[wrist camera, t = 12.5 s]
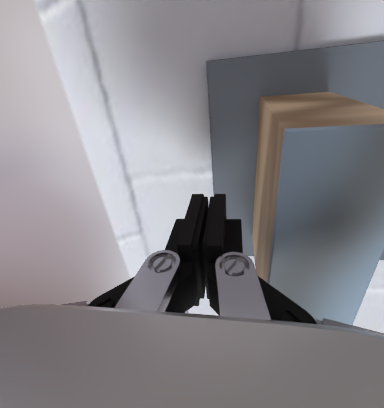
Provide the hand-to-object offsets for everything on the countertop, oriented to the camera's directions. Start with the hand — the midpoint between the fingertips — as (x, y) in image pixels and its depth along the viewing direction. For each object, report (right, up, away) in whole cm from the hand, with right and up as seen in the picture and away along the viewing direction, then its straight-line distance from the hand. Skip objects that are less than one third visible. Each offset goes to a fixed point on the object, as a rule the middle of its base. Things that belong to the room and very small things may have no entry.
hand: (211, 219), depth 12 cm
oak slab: (+5, +3, +3) cm, 7 cm away
